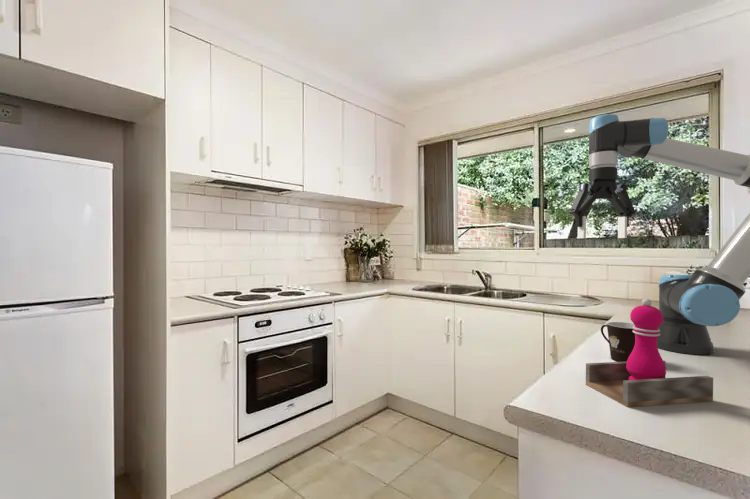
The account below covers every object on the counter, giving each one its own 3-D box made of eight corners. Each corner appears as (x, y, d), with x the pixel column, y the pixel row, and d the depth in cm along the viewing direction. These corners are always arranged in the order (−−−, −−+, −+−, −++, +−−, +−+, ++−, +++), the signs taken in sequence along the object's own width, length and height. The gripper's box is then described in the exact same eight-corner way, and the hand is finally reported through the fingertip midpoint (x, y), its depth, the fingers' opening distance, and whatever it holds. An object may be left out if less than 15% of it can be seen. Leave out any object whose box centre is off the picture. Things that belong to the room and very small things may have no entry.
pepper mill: (630, 379, 90) (631, 295, 89) (668, 388, 85) (669, 298, 84) (622, 388, 85) (623, 298, 84) (662, 397, 80) (664, 302, 79)
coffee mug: (648, 365, 103) (649, 329, 103) (613, 363, 105) (614, 327, 104) (629, 353, 114) (629, 320, 114) (597, 352, 116) (598, 319, 116)
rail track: (660, 380, 92) (661, 359, 92) (712, 401, 80) (713, 377, 80) (585, 384, 90) (585, 363, 89) (627, 407, 77) (627, 382, 77)
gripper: (629, 171, 121) (629, 238, 121) (557, 169, 117) (556, 238, 118) (650, 166, 113) (649, 237, 114) (573, 164, 110) (572, 237, 110)
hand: (602, 238), depth 116 cm, fingers open, 13 cm apart
